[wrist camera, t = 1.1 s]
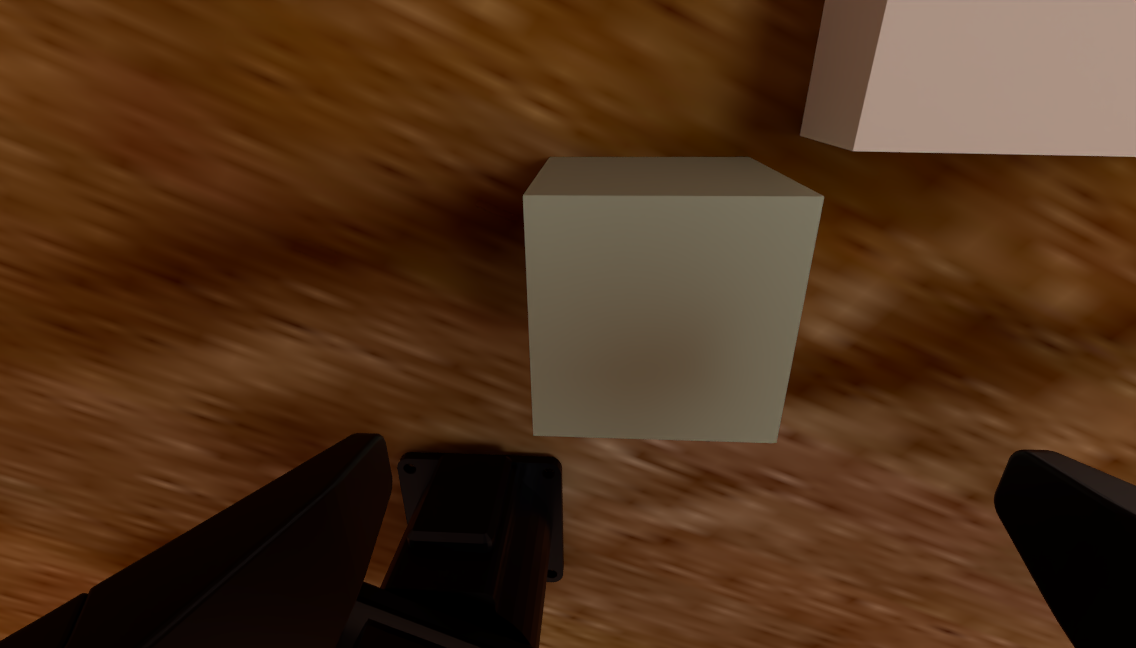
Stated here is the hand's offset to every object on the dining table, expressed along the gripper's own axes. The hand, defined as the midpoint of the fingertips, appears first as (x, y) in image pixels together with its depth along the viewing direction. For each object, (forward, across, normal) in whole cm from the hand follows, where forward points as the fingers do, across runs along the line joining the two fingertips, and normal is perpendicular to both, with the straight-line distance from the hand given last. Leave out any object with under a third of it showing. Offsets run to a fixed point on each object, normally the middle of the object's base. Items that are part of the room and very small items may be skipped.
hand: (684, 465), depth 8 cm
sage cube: (+11, 0, 0) cm, 11 cm away
